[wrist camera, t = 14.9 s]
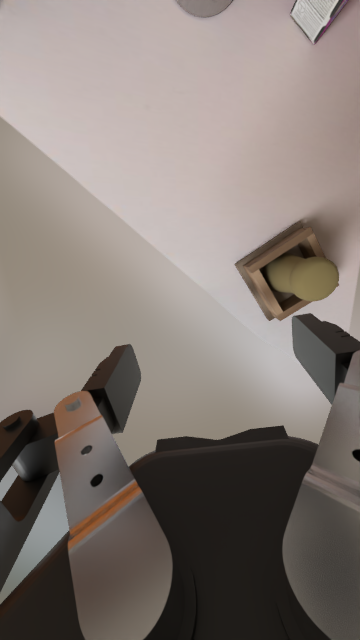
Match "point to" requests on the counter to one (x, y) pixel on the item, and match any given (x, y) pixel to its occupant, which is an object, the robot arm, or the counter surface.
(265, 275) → the olive knobbed peg
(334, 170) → the counter surface
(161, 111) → the counter surface
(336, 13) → the candy bar box
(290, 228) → the walnut socket
